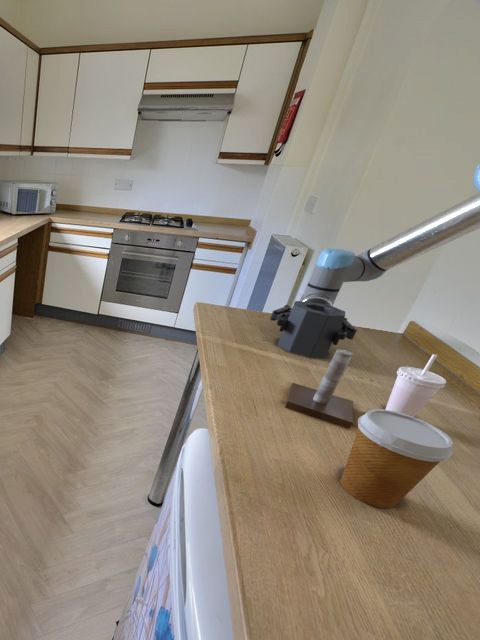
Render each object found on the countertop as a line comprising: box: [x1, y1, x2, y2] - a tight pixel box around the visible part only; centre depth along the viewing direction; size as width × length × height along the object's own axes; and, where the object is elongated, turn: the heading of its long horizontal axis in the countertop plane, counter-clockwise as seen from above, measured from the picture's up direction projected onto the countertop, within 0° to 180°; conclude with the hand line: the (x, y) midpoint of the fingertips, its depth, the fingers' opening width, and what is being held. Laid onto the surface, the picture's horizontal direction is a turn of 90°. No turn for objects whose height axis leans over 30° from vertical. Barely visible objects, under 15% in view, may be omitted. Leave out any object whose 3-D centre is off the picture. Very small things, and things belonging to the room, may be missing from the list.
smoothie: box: [384, 353, 447, 418], centre depth 77 cm, size 6×6×14 cm
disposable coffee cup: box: [339, 408, 454, 509], centre depth 59 cm, size 10×10×12 cm
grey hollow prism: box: [276, 300, 346, 359], centre depth 103 cm, size 10×10×12 cm
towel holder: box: [284, 348, 354, 430], centre depth 79 cm, size 10×10×12 cm
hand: (309, 332), depth 100 cm, fingers closed on grey hollow prism, 10 cm apart
